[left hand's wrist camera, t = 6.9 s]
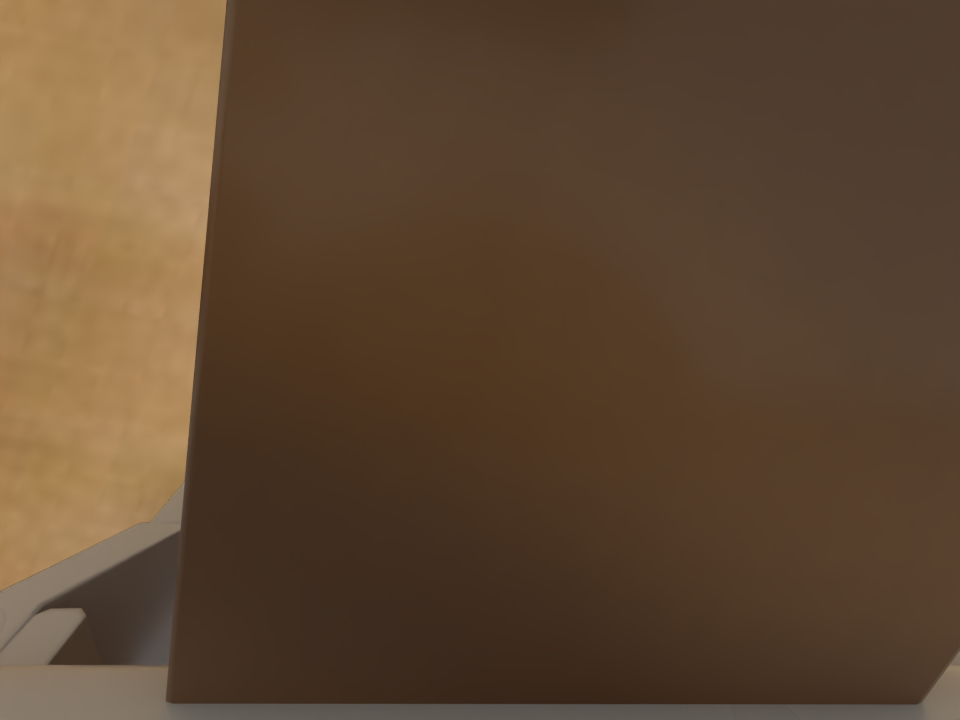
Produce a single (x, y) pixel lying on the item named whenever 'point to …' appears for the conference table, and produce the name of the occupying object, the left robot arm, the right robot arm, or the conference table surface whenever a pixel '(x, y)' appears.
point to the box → (577, 356)
